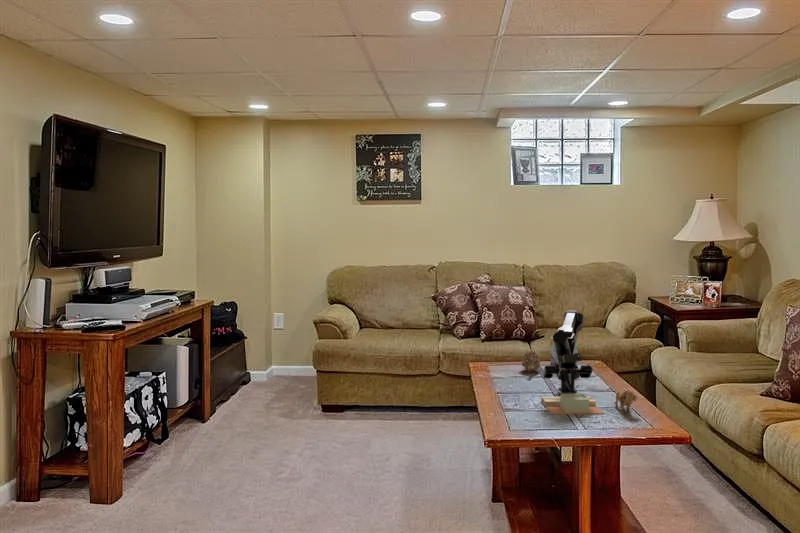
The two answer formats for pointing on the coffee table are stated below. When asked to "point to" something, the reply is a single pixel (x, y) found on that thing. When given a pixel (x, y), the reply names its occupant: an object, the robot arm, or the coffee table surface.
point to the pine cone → (530, 361)
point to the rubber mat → (560, 411)
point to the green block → (574, 403)
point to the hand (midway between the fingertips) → (571, 390)
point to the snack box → (554, 356)
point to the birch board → (556, 401)
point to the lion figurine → (625, 399)
